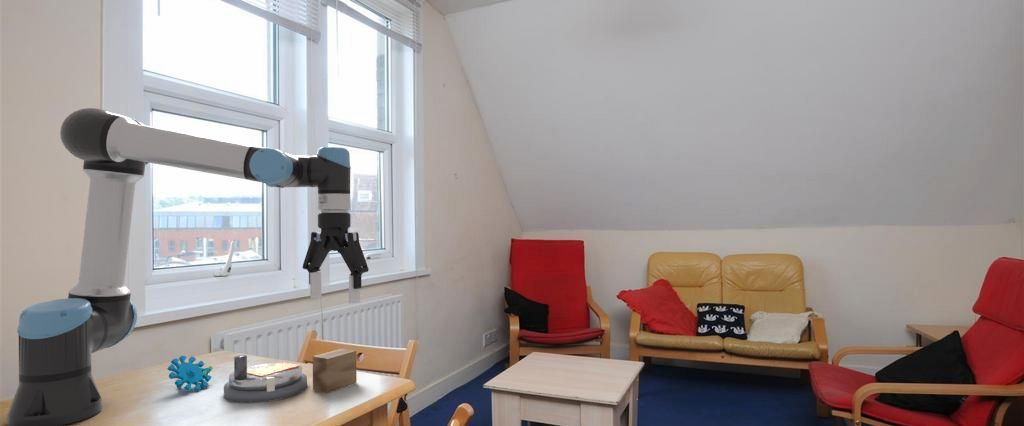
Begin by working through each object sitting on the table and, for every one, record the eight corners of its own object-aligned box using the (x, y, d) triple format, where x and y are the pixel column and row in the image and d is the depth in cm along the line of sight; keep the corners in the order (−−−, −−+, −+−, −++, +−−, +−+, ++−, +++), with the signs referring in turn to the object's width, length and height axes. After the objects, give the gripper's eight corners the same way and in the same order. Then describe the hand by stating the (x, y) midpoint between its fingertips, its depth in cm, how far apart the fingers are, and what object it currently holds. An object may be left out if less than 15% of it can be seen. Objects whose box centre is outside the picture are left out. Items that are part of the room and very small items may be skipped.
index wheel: (234, 374, 138) (234, 345, 138) (303, 368, 143) (303, 340, 143) (223, 393, 123) (223, 361, 123) (300, 386, 128) (300, 355, 128)
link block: (312, 390, 133) (312, 356, 133) (342, 380, 141) (341, 348, 141) (327, 393, 131) (327, 358, 131) (356, 383, 138) (356, 350, 138)
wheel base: (207, 394, 130) (207, 372, 130) (275, 375, 146) (275, 355, 146) (256, 407, 121) (256, 384, 121) (323, 385, 136) (323, 364, 136)
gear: (180, 390, 128) (164, 355, 132) (166, 407, 129) (150, 372, 133) (223, 384, 138) (207, 351, 142) (209, 399, 139) (193, 366, 143)
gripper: (287, 212, 139) (287, 298, 139) (359, 211, 126) (360, 306, 126) (312, 212, 145) (312, 295, 145) (383, 211, 133) (383, 302, 133)
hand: (334, 300), depth 136 cm, fingers open, 13 cm apart
